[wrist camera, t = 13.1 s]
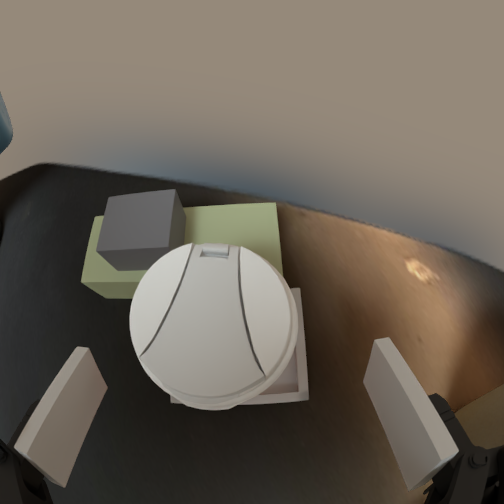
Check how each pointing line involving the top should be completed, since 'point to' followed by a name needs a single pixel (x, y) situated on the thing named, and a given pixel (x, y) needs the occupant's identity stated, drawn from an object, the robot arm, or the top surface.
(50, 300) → the top surface
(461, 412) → the plant pot
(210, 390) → the paper cup
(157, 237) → the green block with cube
